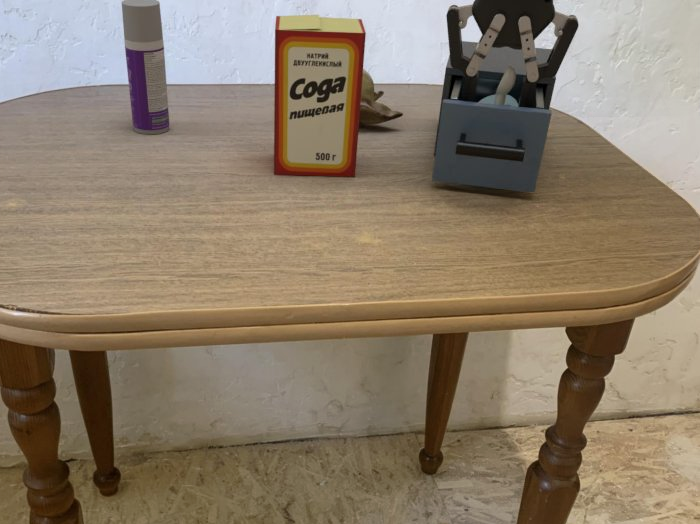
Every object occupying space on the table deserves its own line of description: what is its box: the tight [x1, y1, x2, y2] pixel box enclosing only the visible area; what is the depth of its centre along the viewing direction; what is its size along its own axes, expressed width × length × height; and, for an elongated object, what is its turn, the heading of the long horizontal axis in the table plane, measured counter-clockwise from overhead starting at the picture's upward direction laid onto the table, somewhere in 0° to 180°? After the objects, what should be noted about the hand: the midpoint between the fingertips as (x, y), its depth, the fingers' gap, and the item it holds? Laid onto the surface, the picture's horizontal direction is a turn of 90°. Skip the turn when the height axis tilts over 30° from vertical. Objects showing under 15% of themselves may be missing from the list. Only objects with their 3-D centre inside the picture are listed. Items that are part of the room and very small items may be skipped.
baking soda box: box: [273, 14, 367, 178], centre depth 88 cm, size 10×6×16 cm
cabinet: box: [433, 40, 557, 157], centre depth 98 cm, size 14×13×11 cm
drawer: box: [431, 75, 553, 194], centre depth 87 cm, size 17×11×9 cm
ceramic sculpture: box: [359, 68, 404, 125], centre depth 103 cm, size 11×9×15 cm
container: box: [121, 0, 170, 135], centre depth 96 cm, size 5×5×15 cm
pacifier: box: [478, 66, 518, 107], centre depth 86 cm, size 7×6×6 cm
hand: (495, 110), depth 87 cm, fingers closed on pacifier, 5 cm apart
